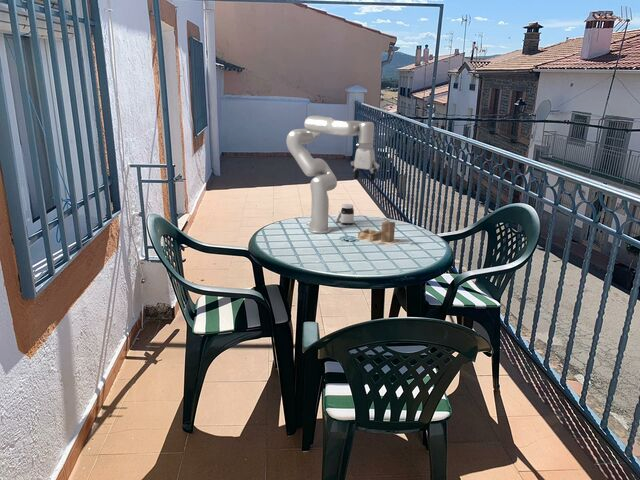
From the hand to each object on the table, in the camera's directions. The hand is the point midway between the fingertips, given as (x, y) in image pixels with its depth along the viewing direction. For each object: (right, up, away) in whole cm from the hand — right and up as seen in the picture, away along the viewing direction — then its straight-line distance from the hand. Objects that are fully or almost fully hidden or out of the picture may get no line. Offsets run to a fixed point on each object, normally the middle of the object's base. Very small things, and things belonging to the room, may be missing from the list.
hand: (364, 179), depth 263 cm
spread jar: (-9, -22, +42) cm, 48 cm away
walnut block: (+12, -32, +2) cm, 34 cm away
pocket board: (+8, -32, +6) cm, 34 cm away
